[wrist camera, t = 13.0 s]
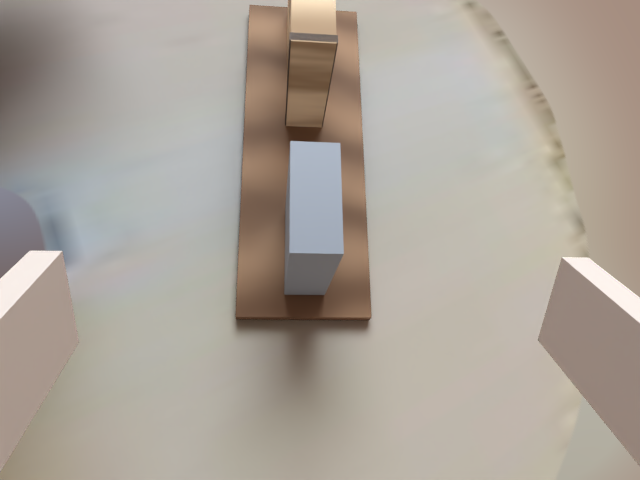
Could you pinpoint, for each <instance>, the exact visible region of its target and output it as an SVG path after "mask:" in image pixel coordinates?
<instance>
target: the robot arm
mask: <svg viewBox="0 0 640 480" xmlns="http://www.w3.org/2000/svg"><path fill="white" fill-rule="evenodd" d="M538 341H539V342H540V343H541V345H542V346H543V347H544V348H545V349H546V351H547V352H548V353H549V354H550V356H551V357H552V358H553V359H554V361H555V362H556V363H557V364H558V366H559V367H560V368H561V369H562V371H563V372H564V373H565V374H566V375H567V377H568V378H569V379H570V380H571V382H572V383H573V384H574V385H575V387H576V388H577V389H578V390H579V392H580V393H581V394H582V395H583V397H584V398H585V399H586V400H587V401H588V403H589V404H590V405H591V406H592V408H593V409H594V410H595V411H596V413H597V414H598V415H599V416H600V418H601V419H602V420H603V421H604V423H605V424H606V425H607V426H608V427H609V429H610V430H611V431H612V432H613V434H614V435H615V436H616V437H617V439H618V440H619V441H620V442H621V444H622V445H623V446H624V447H625V449H626V450H627V451H628V452H629V454H630V455H631V456H632V457H633V458H634V460H635V461H636V462H637V463H638V465H639V466H640V298H639V297H638V296H637V295H636V294H634V293H633V292H632V291H630V290H629V289H628V288H627V287H625V286H624V285H623V284H621V283H620V282H619V281H618V280H616V279H615V278H614V277H612V276H611V275H610V274H608V273H607V272H606V271H605V270H603V269H602V268H601V267H600V266H598V265H597V264H595V263H594V262H593V261H592V260H590V259H589V258H577V257H562V258H561V262H560V265H559V269H558V272H557V276H556V279H555V282H554V286H553V289H552V293H551V296H550V300H549V303H548V306H547V310H546V313H545V317H544V320H543V324H542V327H541V331H540V334H539V337H538ZM78 343H79V339H78V333H77V328H76V322H75V317H74V312H73V306H72V301H71V295H70V290H69V285H68V279H67V274H66V268H65V263H64V258H63V252H62V251H29V252H28V253H27V254H26V255H25V256H24V257H23V258H22V259H21V260H20V261H19V262H18V263H16V264H15V265H14V266H13V267H12V268H11V269H10V270H9V271H8V272H7V273H6V274H5V275H4V276H3V277H2V278H1V279H0V472H1V470H2V468H3V467H4V465H5V463H6V462H7V460H8V459H9V457H10V455H11V454H12V452H13V450H14V449H15V447H16V445H17V444H18V442H19V440H20V439H21V437H22V435H23V434H24V432H25V431H26V429H27V427H28V426H29V424H30V422H31V421H32V419H33V417H34V416H35V414H36V412H37V411H38V409H39V407H40V406H41V404H42V403H43V401H44V399H45V398H46V396H47V394H48V393H49V391H50V389H51V388H52V386H53V384H54V383H55V381H56V379H57V378H58V376H59V374H60V373H61V371H62V370H63V368H64V366H65V365H66V363H67V361H68V360H69V358H70V356H71V355H72V353H73V351H74V350H75V348H76V346H77V345H78Z"/></svg>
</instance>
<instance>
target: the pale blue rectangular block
mask: <svg viewBox="0 0 640 480" xmlns="http://www.w3.org/2000/svg"><path fill="white" fill-rule="evenodd" d="M343 255H344V244H343V212H342V180H341V148H340V143H329V142H303V141H290V152H289V165H288V178H287V192H286V205H285V276H284V295H325V293H326V291H327V289H328V287H329V285H330V282H331V280H332V278H333V276H334V274H335V272H336V270H337V267H338V265H339V263H340V261H341V259H342V257H343Z"/></svg>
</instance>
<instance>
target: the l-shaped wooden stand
mask: <svg viewBox="0 0 640 480" xmlns="http://www.w3.org/2000/svg"><path fill="white" fill-rule="evenodd" d="M290 141H303V142H329V143H340V148H341V180H342V212H343V244H344V255H343V257H342V259H341V261H340V263H339V265H338V267H337V270H336V272H335V274H334V276H333V278H332V280H331V282H330V285H329V287H328V289H327V291H326V293H325V295H284V276H285V205H286V192H287V178H288V165H289V152H290ZM370 318H371V300H370V279H369V259H368V239H367V218H366V198H365V177H364V157H363V136H362V116H361V95H360V75H359V54H358V34H357V14H356V12H349V11H336V2H335V0H288V7H273V6H258V5H250V8H249V31H248V53H247V75H246V97H245V119H244V142H243V164H242V186H241V208H240V230H239V253H238V275H237V297H236V319H267V320H369V319H370Z"/></svg>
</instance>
